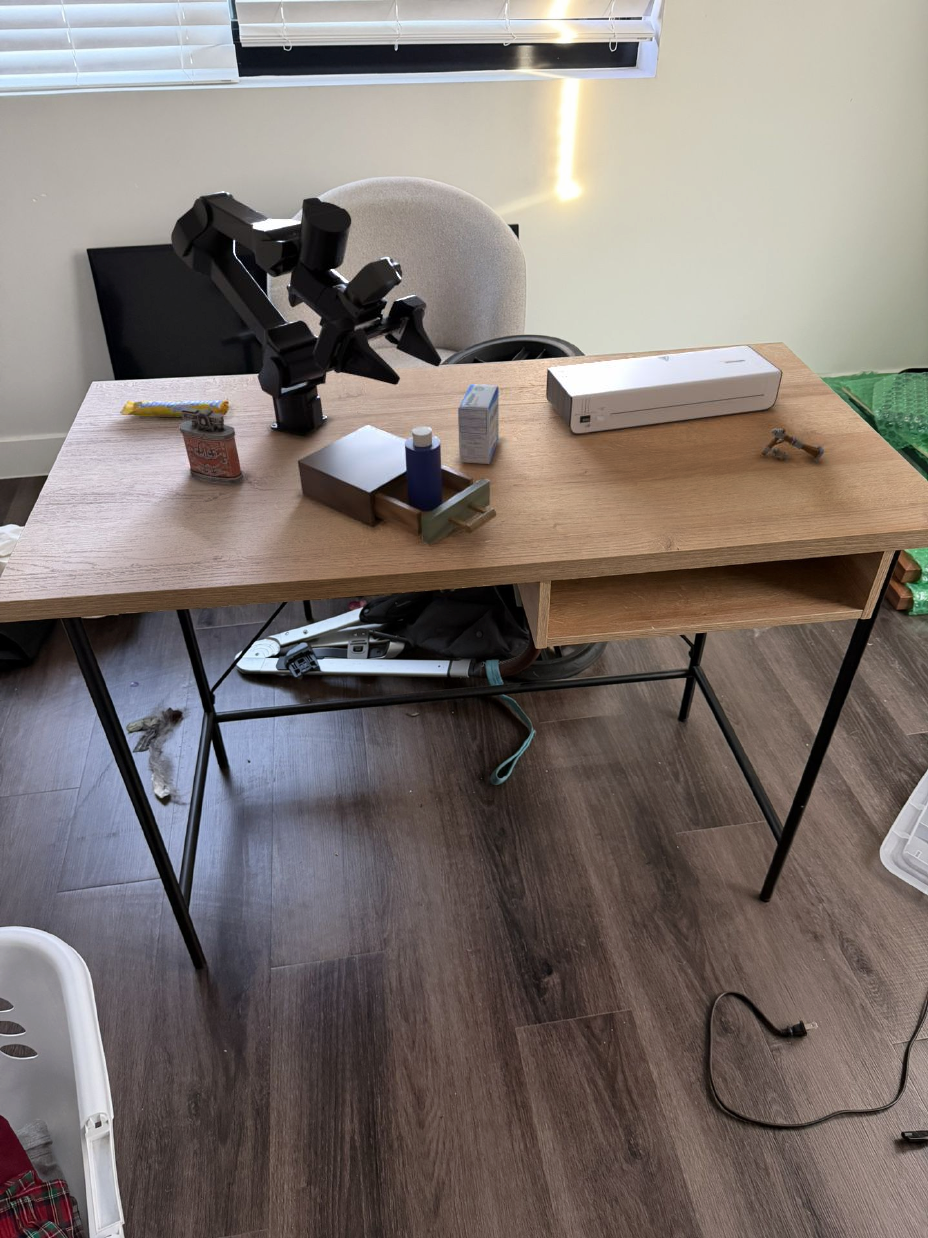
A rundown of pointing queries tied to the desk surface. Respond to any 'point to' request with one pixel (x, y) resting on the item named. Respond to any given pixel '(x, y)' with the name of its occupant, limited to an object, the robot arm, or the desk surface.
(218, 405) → the candy bar
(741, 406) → the laminator
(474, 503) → the drawer
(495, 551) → the desk surface
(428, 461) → the glue bottle
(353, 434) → the cabinet
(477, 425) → the medicine box
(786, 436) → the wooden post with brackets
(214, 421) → the lighter
